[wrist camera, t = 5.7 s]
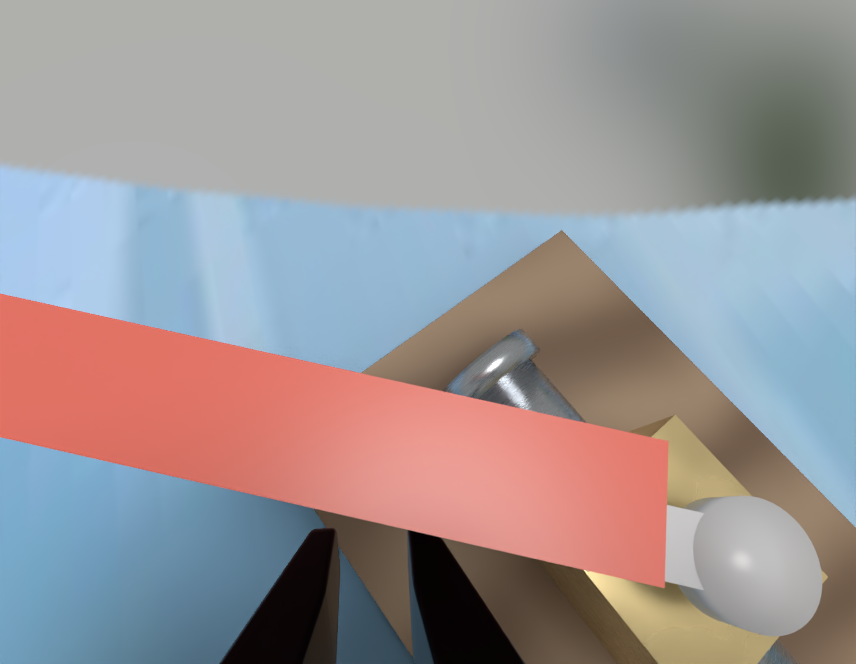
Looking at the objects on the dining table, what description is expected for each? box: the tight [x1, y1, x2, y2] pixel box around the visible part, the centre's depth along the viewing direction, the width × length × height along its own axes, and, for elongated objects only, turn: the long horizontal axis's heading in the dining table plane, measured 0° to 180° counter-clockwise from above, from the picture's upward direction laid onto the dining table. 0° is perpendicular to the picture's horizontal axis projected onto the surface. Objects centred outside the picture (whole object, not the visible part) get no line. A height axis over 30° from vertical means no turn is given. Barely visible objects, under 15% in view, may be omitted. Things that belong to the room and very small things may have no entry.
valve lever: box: [0, 294, 822, 636], centre depth 9 cm, size 15×3×7 cm, turn 78°
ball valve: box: [444, 329, 828, 664], centre depth 15 cm, size 16×5×6 cm, turn 38°
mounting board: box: [314, 230, 856, 664], centre depth 19 cm, size 22×16×2 cm
